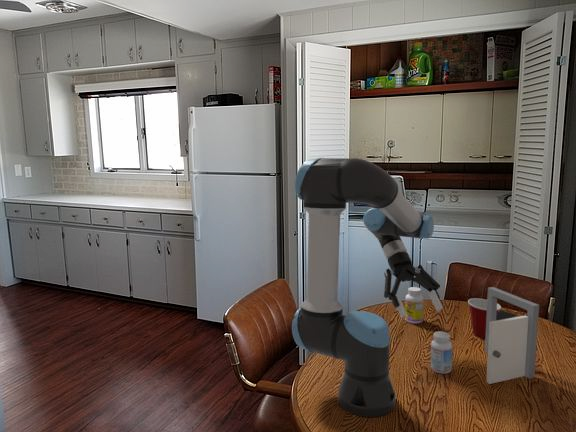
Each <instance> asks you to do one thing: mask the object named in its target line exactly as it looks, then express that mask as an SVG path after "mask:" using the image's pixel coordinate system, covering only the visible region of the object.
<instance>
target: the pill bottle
mask: <svg viewBox="0 0 576 432" xmlns="http://www.w3.org/2000/svg"><path fill="white" fill-rule="evenodd" d="M452 360H453V344H452V342H451V335H450V333H448V332H446V331H435V332H434V333H433V340H431V343H430V369H431V370H432V371H433V372H435V373H437V374H446V375H447V374H449V373H450V372H451V371H452V367H453V364H452V363H453V361H452Z"/></svg>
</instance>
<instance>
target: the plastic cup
mask: <svg viewBox="0 0 576 432" xmlns="http://www.w3.org/2000/svg"><path fill="white" fill-rule="evenodd" d="M467 303H468V306H469V313H470V321H471V322H470V323H471V327H472V333H473V336H475V337H476V338H479V339H485V338H486V317H487V299H484V298H477V297H476V298H469V299H468V300H467ZM499 310H502V306H501V305H500V304H499V303H498V302H497V313H496V316H497V314H498V312H499Z"/></svg>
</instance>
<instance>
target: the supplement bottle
mask: <svg viewBox="0 0 576 432" xmlns="http://www.w3.org/2000/svg"><path fill="white" fill-rule="evenodd" d="M407 292H408V293H407V294H406V295H405V305H404V309H405V311H406V315H405V316H404V319H405V321H406V322H408V323H409V324H414V325H415V324H420V323H422V322H423V320H424V319H423V318H424V296H423V295H422V294H421V293H422V289H421V288H420V287H417V286H412V287H411V286H410V287H408V289H407Z"/></svg>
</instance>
